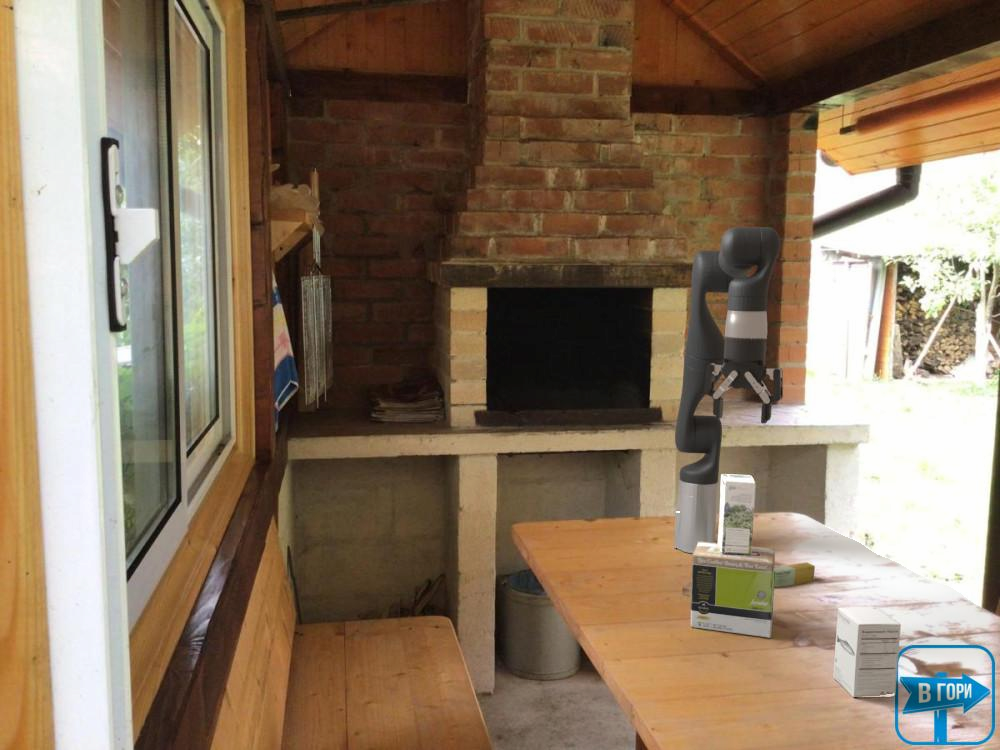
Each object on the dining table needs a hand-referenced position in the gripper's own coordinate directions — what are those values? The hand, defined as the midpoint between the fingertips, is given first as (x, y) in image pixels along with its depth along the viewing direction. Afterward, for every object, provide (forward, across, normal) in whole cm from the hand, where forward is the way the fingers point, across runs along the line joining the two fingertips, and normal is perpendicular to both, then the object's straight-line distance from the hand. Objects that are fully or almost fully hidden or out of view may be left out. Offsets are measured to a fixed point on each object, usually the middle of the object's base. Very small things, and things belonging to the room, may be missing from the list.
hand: (741, 420), depth 166 cm
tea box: (+40, 0, 0) cm, 40 cm away
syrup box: (+26, 0, 0) cm, 26 cm away
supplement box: (+40, +26, -15) cm, 50 cm away
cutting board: (+40, -6, +14) cm, 43 cm away
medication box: (+40, +5, +29) cm, 50 cm away
